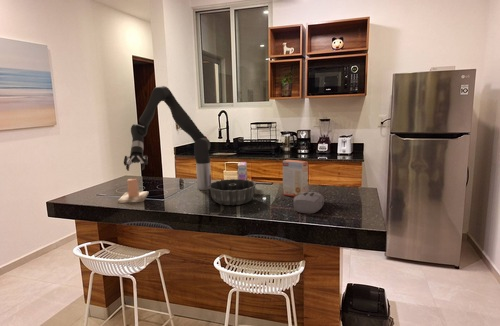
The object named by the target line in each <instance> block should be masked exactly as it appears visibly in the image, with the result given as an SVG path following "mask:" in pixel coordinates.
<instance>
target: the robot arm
mask: <svg viewBox="0 0 500 326" xmlns="http://www.w3.org/2000/svg"><path fill="white" fill-rule="evenodd" d="M161 102H164V103H165V105H166V106H167V108H169V110H170V113H171V116H172V119H173V121H174V122H175V124H176V125H177V126H178V127H179V128H180V129H181V130H182V131H183V132H185V133H186V134H187V135H188V136H189V137H191V139H192V140H193V142H194V143H193V151H194V159H195V164H196V165H195V168H196V187H197V190H201V191H202V190H203V191H206V190H210V187H209V185H211V183H212V174H211V173H212V172H211V171H212V170H211V158H210V155H209V151H210V149H211V141H210V139H208V138H207V136H206V135H205V134H204V133H203V132H201V130H200V129H199V128H198V126H197V124H196V123H195V122H194V121H193V119H191V117H190V115H189V114H188V113H187V112H186V110H185V109H184V108H183V107H182V106H181V104H180V103H179V102H178V101H177V98H176V97H175V96H174V94H173V92H172V91H171V90H170V88H169V87H167V86H165V85H161V86H156V87H154V88H153V90H152V91H151V94H150V97H149V99H148V102H147V104H146V107H145V109H144V111H143V112H142V114H141V116H140V117H139V119H138V122H139V124H138V123H133V124H132V125H131V127H130V133H131V137H132V142H131V147H130V155H129V156H127V155H124V159H123V165H124V166H125V170H126V171H127V172H129V171H130V165H132V164H133V163H134V164H136V163H140V164H141V166H140V167H141V169H140V170H141V171H143V170H145V165H148V164H149V159H148V158H149V156H148V154H145V155H144V142H145V141H144V137H145V136H146V135H147V134H148V130H149V125H150V123H151V122H152V120H153V119H154V116H155V113H156V109H157V106H158V105H159V104H160V103H161Z"/></svg>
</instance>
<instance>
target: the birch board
mask: <svg viewBox="0 0 500 326" xmlns="http://www.w3.org/2000/svg"><path fill="white" fill-rule="evenodd" d="M148 196H149V191H147V190H146V191H139V195H138V196H136V197H129V196H128V191H127V192H124V193H123V195H122V196H121V197H120V198H118V200H117V204H122V203H125V204H126V203H138V202H139V203H141V202H144V201H145V200H146V199H147V197H148Z"/></svg>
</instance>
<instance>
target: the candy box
mask: <svg viewBox="0 0 500 326" xmlns="http://www.w3.org/2000/svg"><path fill="white" fill-rule="evenodd" d="M247 163H248V162H247V161H239V162H237V165H236V167H237V172H236V173H237V179H244V180H248V166H247Z"/></svg>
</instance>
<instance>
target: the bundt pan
mask: <svg viewBox="0 0 500 326" xmlns="http://www.w3.org/2000/svg"><path fill="white" fill-rule="evenodd" d="M256 185H257V183H256V182H255V181H254V180H250V179H247V180H244V179H238V178H236V179H235V178H232V179H221V180H216V181H213V182H211V185H209V187H210V189H209V190H210V195H211V198H212V200H213V201H214V202H215V203H218V204H219V205H220V206H221V205H222V206H223V205H225V206H235V205H237V206H238V205H239V206H241V205H243V204H244V205H245V204H247V203H249V202H250V201H252V199H253V197H254V196H255V192H256V191H255V190H256Z"/></svg>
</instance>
